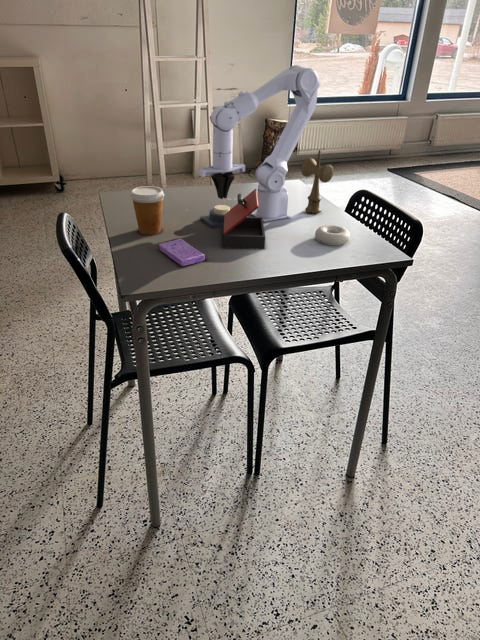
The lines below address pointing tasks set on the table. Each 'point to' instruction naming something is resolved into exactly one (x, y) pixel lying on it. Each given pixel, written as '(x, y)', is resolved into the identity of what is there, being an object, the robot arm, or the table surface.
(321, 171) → the kendama
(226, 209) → the power button
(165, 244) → the sponge
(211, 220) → the switch block
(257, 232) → the black shallow box
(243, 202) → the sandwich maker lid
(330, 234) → the donut
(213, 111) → the robot arm
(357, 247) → the table surface
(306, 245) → the table surface
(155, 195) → the disposable coffee cup
